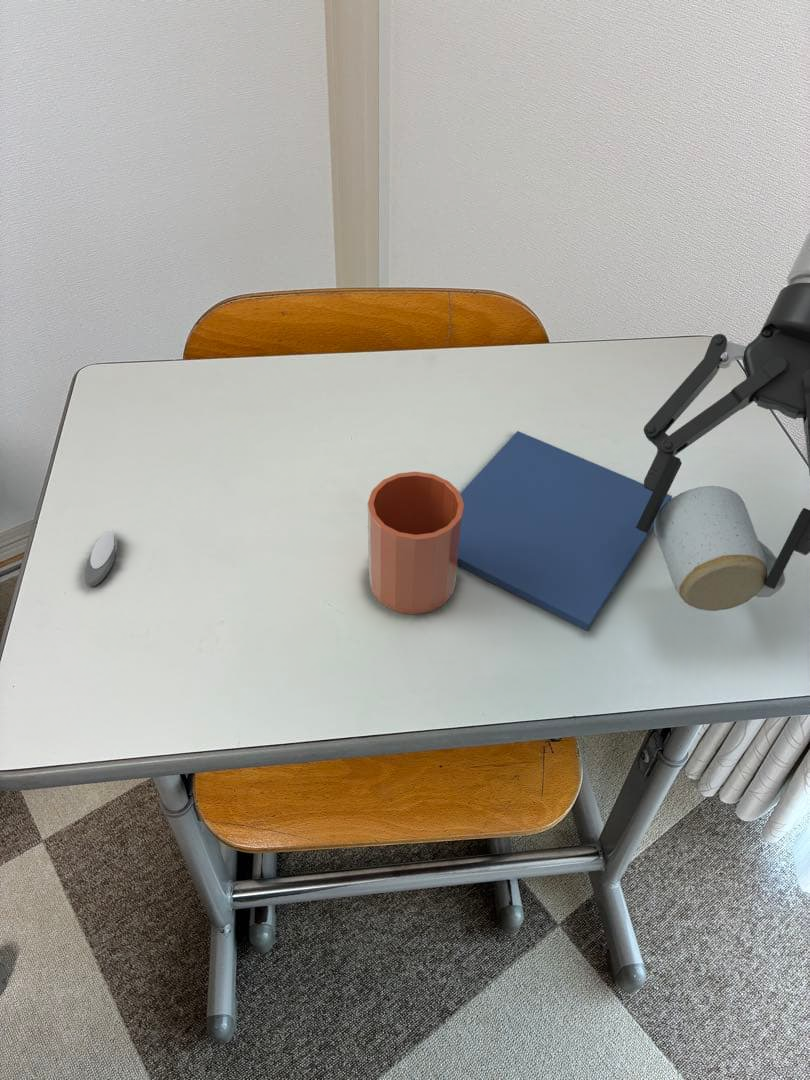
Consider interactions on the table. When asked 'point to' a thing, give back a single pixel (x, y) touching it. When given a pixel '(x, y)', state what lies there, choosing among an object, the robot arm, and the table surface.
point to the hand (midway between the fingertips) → (703, 557)
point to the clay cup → (414, 541)
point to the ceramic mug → (713, 549)
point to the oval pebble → (101, 559)
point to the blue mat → (552, 527)
